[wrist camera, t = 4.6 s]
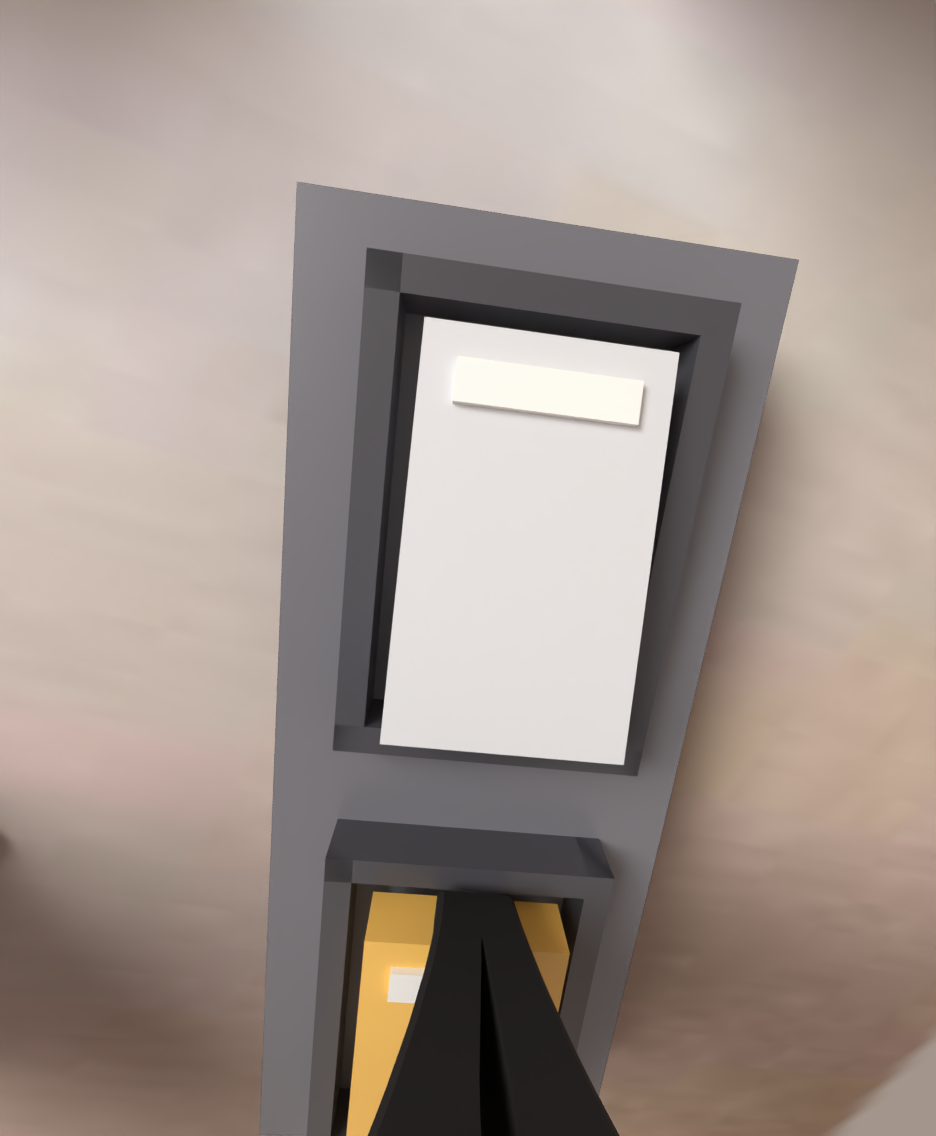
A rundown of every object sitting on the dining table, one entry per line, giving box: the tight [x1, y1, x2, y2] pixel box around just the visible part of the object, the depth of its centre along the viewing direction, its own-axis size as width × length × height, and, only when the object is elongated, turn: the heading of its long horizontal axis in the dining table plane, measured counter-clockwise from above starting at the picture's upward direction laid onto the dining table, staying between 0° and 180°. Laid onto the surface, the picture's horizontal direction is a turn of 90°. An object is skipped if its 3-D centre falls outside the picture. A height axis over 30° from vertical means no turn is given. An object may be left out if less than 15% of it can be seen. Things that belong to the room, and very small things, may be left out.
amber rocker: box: [346, 892, 570, 1136], centre depth 10 cm, size 6×4×1 cm, turn 173°
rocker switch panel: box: [260, 182, 799, 1136], centre depth 11 cm, size 20×8×4 cm, turn 173°
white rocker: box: [380, 317, 679, 765], centre depth 7 cm, size 6×4×1 cm, turn 173°
